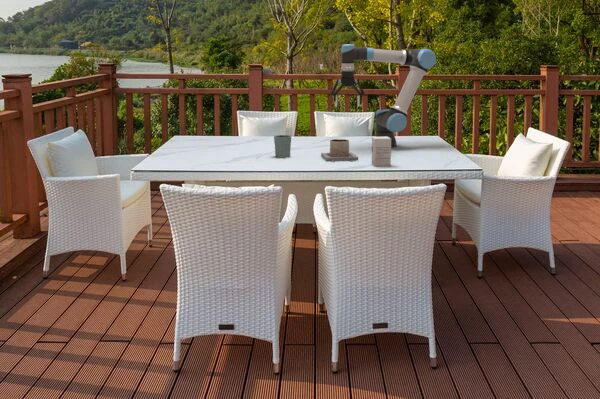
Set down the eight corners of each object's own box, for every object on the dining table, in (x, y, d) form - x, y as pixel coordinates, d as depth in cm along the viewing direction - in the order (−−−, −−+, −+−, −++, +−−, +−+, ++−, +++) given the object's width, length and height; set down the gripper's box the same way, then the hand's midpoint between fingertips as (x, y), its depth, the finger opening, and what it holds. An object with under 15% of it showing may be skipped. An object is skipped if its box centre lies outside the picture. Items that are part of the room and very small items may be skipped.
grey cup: (278, 158, 410) (278, 137, 408) (271, 156, 419) (270, 135, 417) (294, 157, 415) (294, 136, 412) (286, 154, 424) (286, 134, 421)
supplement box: (371, 163, 392) (371, 136, 388) (387, 163, 392) (388, 136, 389) (374, 166, 383) (374, 138, 380) (390, 166, 383) (391, 138, 380)
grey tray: (351, 155, 419) (351, 152, 419) (359, 161, 399) (359, 157, 399) (321, 156, 417) (321, 153, 417) (327, 162, 397) (327, 158, 397)
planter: (347, 158, 403) (347, 141, 401) (328, 158, 405) (328, 141, 403) (350, 155, 413) (350, 139, 411) (331, 155, 416) (331, 138, 414)
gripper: (328, 71, 423) (327, 107, 428) (369, 70, 427) (369, 106, 431) (325, 70, 431) (325, 106, 435) (366, 70, 434) (366, 105, 438)
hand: (347, 106), depth 433 cm, fingers open, 13 cm apart
